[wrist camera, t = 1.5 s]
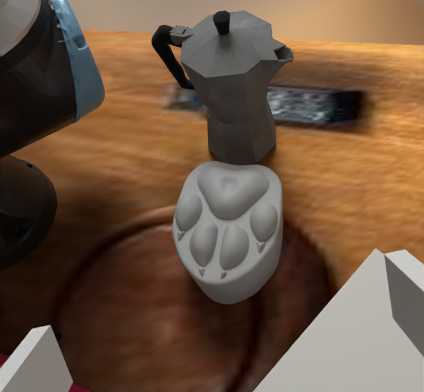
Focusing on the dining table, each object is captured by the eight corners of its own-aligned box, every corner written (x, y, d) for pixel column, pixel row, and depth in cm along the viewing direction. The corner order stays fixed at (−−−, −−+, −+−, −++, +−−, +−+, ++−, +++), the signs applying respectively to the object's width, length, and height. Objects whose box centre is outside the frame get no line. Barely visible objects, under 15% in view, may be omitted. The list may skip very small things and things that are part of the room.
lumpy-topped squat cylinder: (288, 199, 43) (288, 157, 36) (272, 313, 38) (269, 291, 30) (202, 190, 46) (186, 149, 39) (175, 295, 40) (150, 271, 33)
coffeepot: (302, 121, 48) (311, -12, 33) (277, 181, 45) (273, 64, 29) (197, 97, 53) (161, -27, 38) (167, 149, 50) (113, 35, 34)
